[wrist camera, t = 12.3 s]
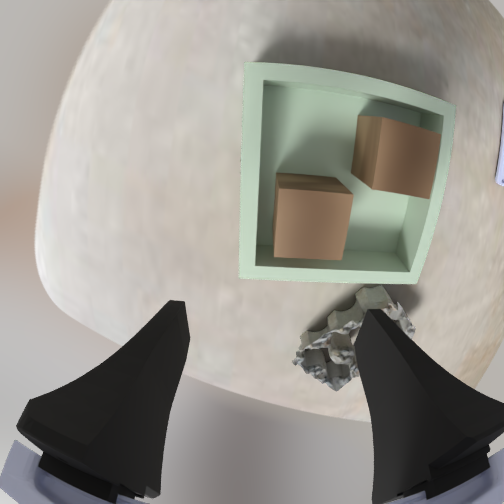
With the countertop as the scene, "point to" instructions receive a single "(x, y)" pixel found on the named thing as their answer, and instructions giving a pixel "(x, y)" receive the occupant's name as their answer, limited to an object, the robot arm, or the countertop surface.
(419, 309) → the countertop surface
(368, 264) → the dish
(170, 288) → the countertop surface
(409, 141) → the block
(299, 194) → the block
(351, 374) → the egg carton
